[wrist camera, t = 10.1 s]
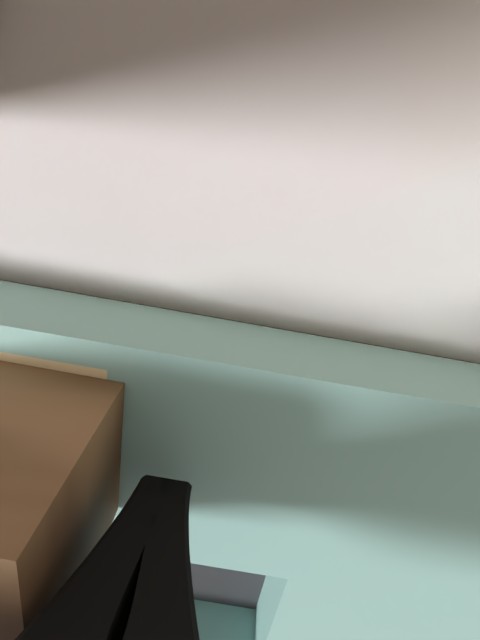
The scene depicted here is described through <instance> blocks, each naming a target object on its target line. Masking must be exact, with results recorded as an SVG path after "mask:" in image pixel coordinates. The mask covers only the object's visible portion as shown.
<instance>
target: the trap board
mask: <svg viewBox="0 0 480 640" xmlns="http://www.w3.org/2000/svg"><path fill="white" fill-rule="evenodd" d="M0 360H1V361H7V362H12V363H18V364H23V365H29V366H34V367H40V368H45V369H51V370H56V371H62V372H67V373H73V374H78V375H84V376H90V377H95V378H101V379H106V380H112V381H117V382H123V383H125V389H124V408H123V427H122V445H121V464H120V483H119V501H118V510H117V513H116V515H115V517H114V520H115V518H116V517H117V515H118V514H119V513H120V511H121V510H122V508H123V507H124V505H125V504H126V502H127V501H128V499H129V498H130V496H131V495H132V493H133V491H134V490H135V488H136V486H137V485H138V483H139V481H140V479H141V478H142V477H143V476H145V475H151V476H157V477H163V478H169V479H174V480H180V481H186V482H189V483H190V484H191V486H192V489H191V495H190V504H189V549H190V562H191V575H192V586H193V595H194V603H195V610H196V618H197V625H198V632H199V638H200V640H480V364H476V363H471V362H465V361H459V360H454V359H448V358H442V357H436V356H431V355H425V354H419V353H414V352H408V351H402V350H396V349H391V348H385V347H379V346H374V345H368V344H362V343H356V342H351V341H345V340H339V339H334V338H328V337H322V336H316V335H311V334H305V333H299V332H294V331H288V330H282V329H276V328H271V327H265V326H259V325H254V324H248V323H242V322H236V321H231V320H225V319H219V318H214V317H208V316H202V315H196V314H191V313H185V312H179V311H174V310H168V309H162V308H156V307H151V306H145V305H139V304H134V303H128V302H122V301H116V300H111V299H105V298H99V297H94V296H88V295H82V294H76V293H71V292H65V291H59V290H53V289H48V288H42V287H36V286H31V285H25V284H19V283H13V282H8V281H2V280H0ZM114 520H113V521H114ZM112 523H113V522H112Z"/></svg>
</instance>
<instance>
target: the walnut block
mask: <svg viewBox="0 0 480 640" xmlns="http://www.w3.org/2000/svg"><path fill="white" fill-rule="evenodd" d="M124 389H125V383H123V382H117V381H112V380H106V379H101V378H95V377H90V376H84V375H78V374H73V373H67V372H62V371H56V370H51V369H45V368H40V367H34V366H29V365H23V364H18V363H12V362H7V361H1V360H0V640H15V639H16V638H17V637H18V635H19V634H20V633H21V632H22V631H23V630H24V629H25V628H26V627H27V626H28V625H29V624H30V623H31V621H32V620H33V619H34V618H35V617H36V616H37V615H38V614H39V613H40V611H41V610H42V609H43V608H44V607H45V606H46V605H47V604H48V602H49V601H50V600H51V599H52V598H53V597H54V595H55V594H56V593H57V592H58V591H59V589H60V588H61V587H62V586H63V585H64V584H65V582H66V581H67V580H68V579H69V578H70V576H71V575H72V574H73V573H74V572H75V570H76V569H77V568H78V567H79V566H80V564H81V563H82V562H83V561H84V559H85V558H86V557H87V556H88V554H89V553H90V552H91V550H92V549H93V548H94V547H95V545H96V544H97V543H98V541H99V540H100V539H101V537H102V536H103V535H104V533H105V532H106V531H107V529H108V528H109V527H110V525H111V524H112V522H113V520H114V517H115V515H116V513H117V510H118V501H119V483H120V464H121V445H122V427H123V408H124Z"/></svg>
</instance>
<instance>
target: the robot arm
mask: <svg viewBox="0 0 480 640" xmlns="http://www.w3.org/2000/svg"><path fill="white" fill-rule="evenodd" d="M191 489H192V486H191V484H190V483H189V482H186V481H180V480H174V479H169V478H163V477H157V476H151V475H145V476H143V477H142V478H141V479H140V481H139V483H138V485H137V486H136V488H135V490H134V491H133V493H132V495H131V496H130V498H129V499H128V501H127V502H126V504H125V505H124V507H123V508H122V510H121V511H120V513H119V514H118V515H117V517H116V518H115V520H114V521H113V523H112V524H111V525H110V527H109V528H108V529H107V531H106V532H105V533H104V535H103V536H102V537H101V539H100V540H99V541H98V543H97V544H96V545H95V547H94V548H93V549H92V550H91V552H90V553H89V554H88V556H87V557H86V558H85V559H84V561H83V562H82V563H81V564H80V566H79V567H78V568H77V569H76V570H75V572H74V573H73V574H72V575H71V576H70V578H69V579H68V580H67V581H66V582H65V584H64V585H63V586H62V587H61V588H60V589H59V591H58V592H57V593H56V594H55V595H54V597H53V598H52V599H51V600H50V601H49V602H48V604H47V605H46V606H45V607H44V608H43V609H42V610H41V611H40V613H39V614H38V615H37V616H36V617H35V618H34V619H33V620H32V621H31V623H30V624H29V625H28V626H27V627H26V628H25V629H24V630H23V631H22V632H21V633H20V634H19V635H18V637H17V638H16V639H15V640H200V638H199V632H198V625H197V618H196V610H195V603H194V595H193V586H192V575H191V562H190V549H189V504H190V495H191Z"/></svg>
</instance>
